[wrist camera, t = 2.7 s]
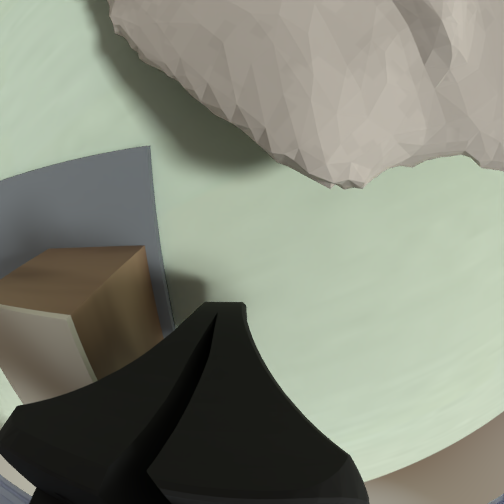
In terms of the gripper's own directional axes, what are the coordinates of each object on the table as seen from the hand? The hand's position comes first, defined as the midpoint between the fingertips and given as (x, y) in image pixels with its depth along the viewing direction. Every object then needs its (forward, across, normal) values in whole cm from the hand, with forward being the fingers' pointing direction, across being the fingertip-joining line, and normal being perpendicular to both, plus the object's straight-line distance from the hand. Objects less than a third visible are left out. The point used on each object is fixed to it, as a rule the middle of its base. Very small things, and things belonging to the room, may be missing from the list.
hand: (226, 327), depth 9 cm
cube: (+1, +6, 0) cm, 6 cm away
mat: (+2, +11, 0) cm, 11 cm away
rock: (+2, -10, -18) cm, 20 cm away
